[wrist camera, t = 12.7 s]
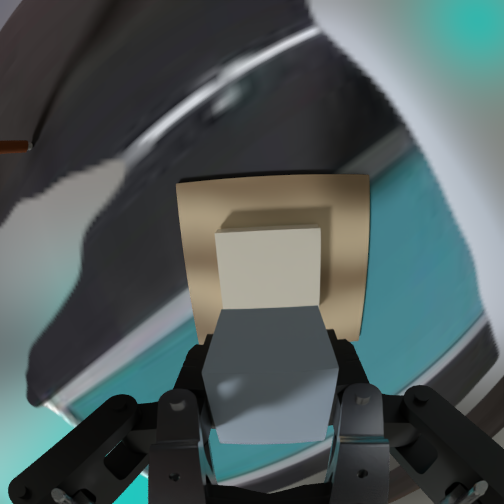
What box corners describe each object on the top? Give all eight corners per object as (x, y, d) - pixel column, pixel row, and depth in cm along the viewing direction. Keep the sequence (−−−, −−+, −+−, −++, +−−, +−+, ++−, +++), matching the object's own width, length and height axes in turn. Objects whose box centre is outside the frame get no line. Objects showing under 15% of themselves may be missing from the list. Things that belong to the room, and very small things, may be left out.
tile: (214, 233, 18) (320, 228, 17) (218, 228, 19) (316, 223, 19) (225, 324, 20) (318, 320, 19) (227, 314, 21) (315, 310, 21)
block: (221, 309, 11) (201, 372, 7) (317, 305, 11) (338, 367, 7) (231, 378, 12) (220, 443, 8) (313, 375, 12) (324, 440, 8)
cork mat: (177, 183, 19) (175, 183, 19) (367, 174, 18) (369, 174, 18) (200, 345, 23) (200, 348, 23) (357, 338, 22) (358, 340, 22)
